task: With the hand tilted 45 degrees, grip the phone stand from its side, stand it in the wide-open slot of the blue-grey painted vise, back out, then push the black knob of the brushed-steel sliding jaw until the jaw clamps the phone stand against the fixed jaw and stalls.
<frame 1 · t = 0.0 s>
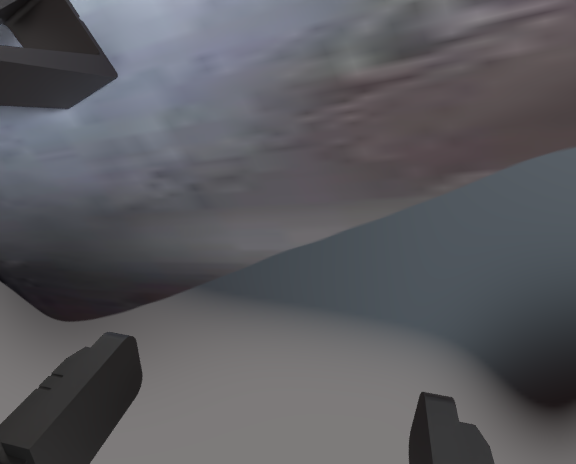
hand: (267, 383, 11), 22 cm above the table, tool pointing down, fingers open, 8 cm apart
phone stand: (58, 37, 30), on the table
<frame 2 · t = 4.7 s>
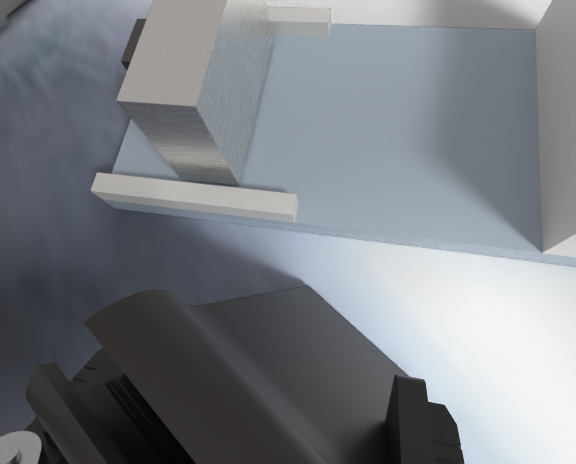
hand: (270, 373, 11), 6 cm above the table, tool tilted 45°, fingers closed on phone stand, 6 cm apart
vise body: (353, 130, 21), on the table
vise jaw: (191, 62, 18), point 4 cm above the table, slide at 0.0 cm
phone stand: (289, 410, 17), on the table, touching gripper
when the fingers open (9 cm above the table, at t = 10.1 s): phone stand drops 1 cm, resting on vise body.
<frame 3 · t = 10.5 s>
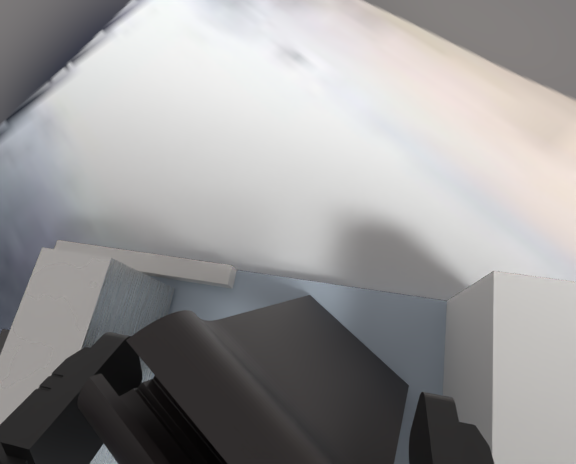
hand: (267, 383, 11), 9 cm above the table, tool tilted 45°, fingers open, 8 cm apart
vise body: (255, 398, 19), on the table
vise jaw: (64, 370, 16), point 4 cm above the table, slide at 0.0 cm
phone stand: (292, 411, 18), point 1 cm above the table, touching vise body
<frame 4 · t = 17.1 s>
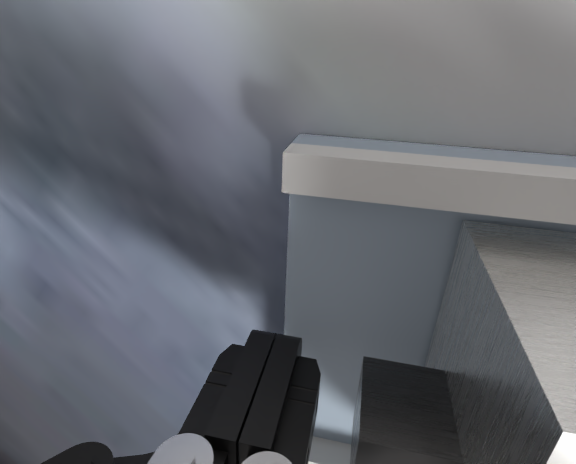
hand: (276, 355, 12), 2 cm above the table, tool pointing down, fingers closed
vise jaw: (464, 451, 9), point 4 cm above the table, slide at 0.5 cm, touching gripper
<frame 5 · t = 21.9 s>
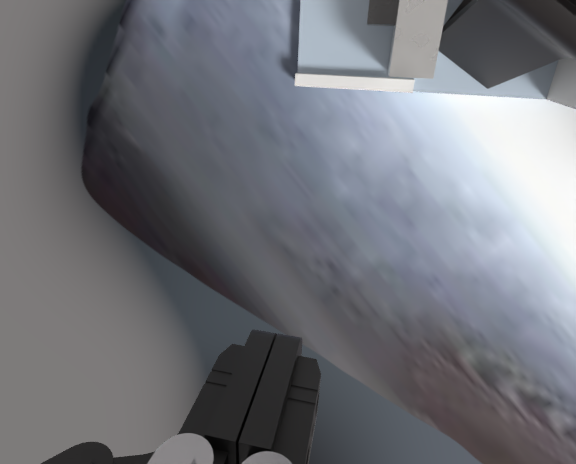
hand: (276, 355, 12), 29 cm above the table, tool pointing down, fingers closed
vise body: (449, 12, 31), on the table
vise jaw: (404, 6, 28), point 4 cm above the table, slide at 3.8 cm
phone stand: (501, 13, 30), point 1 cm above the table, touching vise body
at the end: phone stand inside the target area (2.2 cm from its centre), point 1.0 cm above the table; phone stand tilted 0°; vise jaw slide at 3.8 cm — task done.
